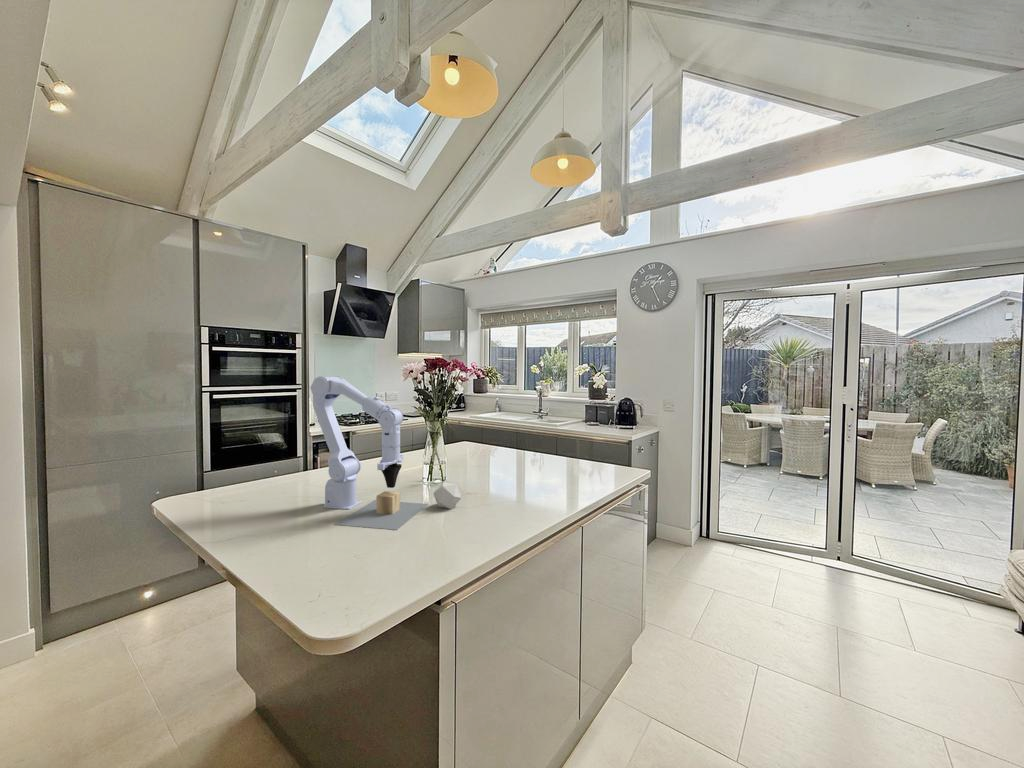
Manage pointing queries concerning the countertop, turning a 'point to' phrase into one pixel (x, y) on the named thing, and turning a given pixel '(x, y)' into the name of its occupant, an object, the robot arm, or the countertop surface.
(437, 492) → the die
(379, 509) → the oak block
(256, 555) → the countertop surface
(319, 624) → the countertop surface
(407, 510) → the rubber mat
